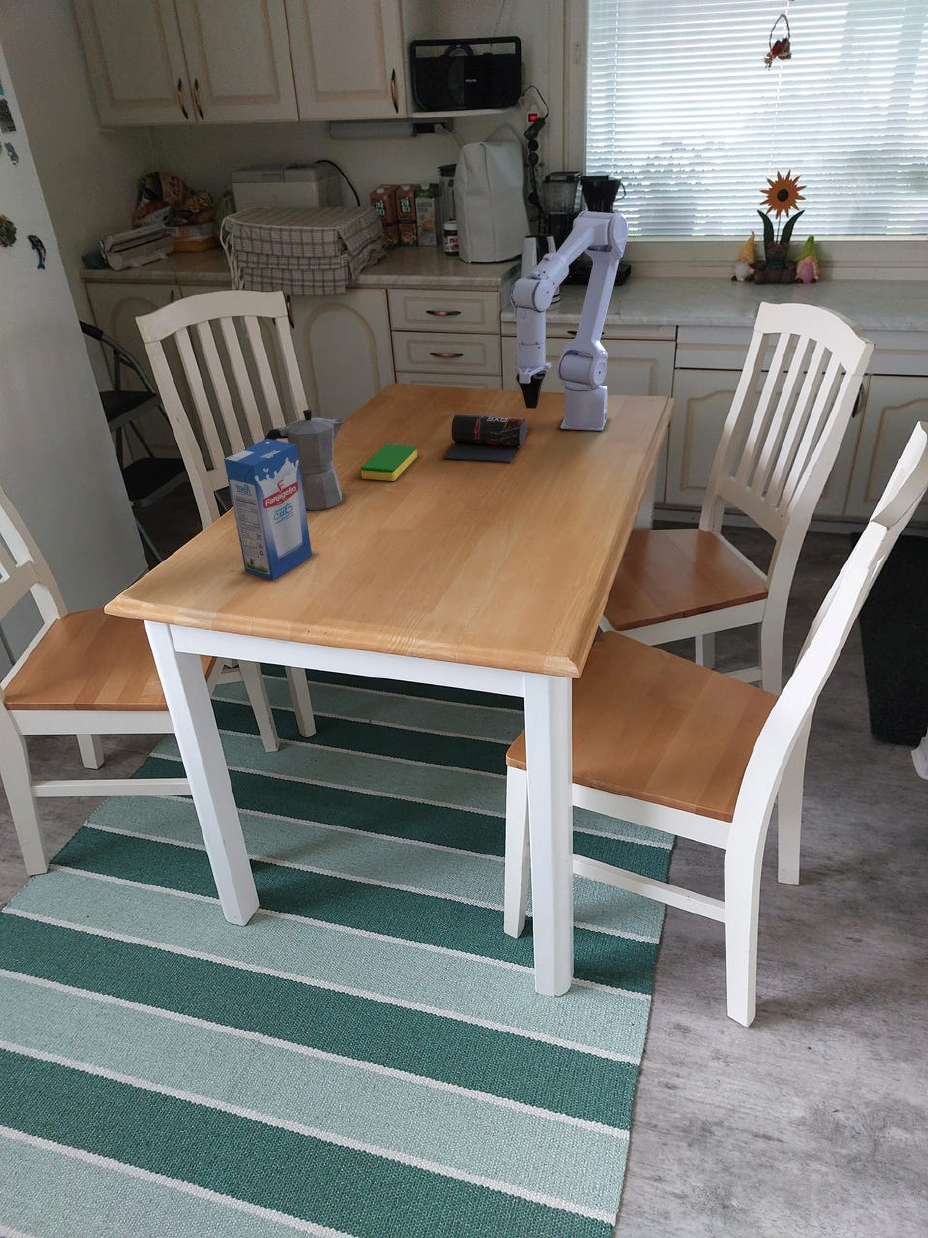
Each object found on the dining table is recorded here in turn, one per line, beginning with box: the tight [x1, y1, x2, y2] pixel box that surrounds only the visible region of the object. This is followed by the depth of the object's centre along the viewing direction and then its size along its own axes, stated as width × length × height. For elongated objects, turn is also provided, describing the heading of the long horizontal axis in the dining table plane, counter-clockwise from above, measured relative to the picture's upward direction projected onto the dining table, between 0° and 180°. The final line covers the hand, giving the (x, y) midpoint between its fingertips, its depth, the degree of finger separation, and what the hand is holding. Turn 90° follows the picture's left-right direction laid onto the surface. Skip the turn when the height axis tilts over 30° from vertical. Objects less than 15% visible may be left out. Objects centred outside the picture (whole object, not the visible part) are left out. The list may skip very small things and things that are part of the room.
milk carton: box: [223, 438, 313, 581], centre depth 150 cm, size 10×6×20 cm, turn 148°
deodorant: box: [450, 413, 527, 448], centre depth 197 cm, size 6×6×15 cm
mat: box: [443, 427, 529, 464], centre depth 199 cm, size 14×20×1 cm
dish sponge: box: [360, 443, 418, 482], centre depth 189 cm, size 7×14×2 cm, turn 163°
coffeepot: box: [263, 409, 345, 511], centre depth 172 cm, size 15×9×18 cm, turn 116°
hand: (531, 407), depth 191 cm, fingers closed
